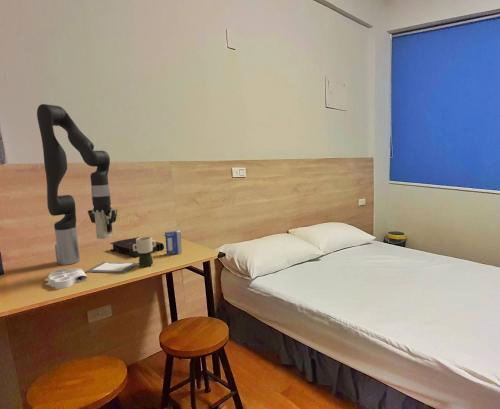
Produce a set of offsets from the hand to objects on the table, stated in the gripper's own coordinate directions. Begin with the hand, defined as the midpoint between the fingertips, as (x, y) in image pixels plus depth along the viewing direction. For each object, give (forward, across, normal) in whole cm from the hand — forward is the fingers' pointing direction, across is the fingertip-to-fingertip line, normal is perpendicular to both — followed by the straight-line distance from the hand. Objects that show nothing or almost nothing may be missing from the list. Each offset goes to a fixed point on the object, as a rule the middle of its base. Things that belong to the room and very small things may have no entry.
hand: (104, 231), depth 150 cm
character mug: (+17, +18, +3) cm, 25 cm away
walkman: (+17, +24, +22) cm, 37 cm away
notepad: (+17, +4, -2) cm, 17 cm away
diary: (+17, 0, +27) cm, 32 cm away
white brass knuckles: (+17, -8, -18) cm, 26 cm away
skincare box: (+3, 0, 0) cm, 3 cm away
